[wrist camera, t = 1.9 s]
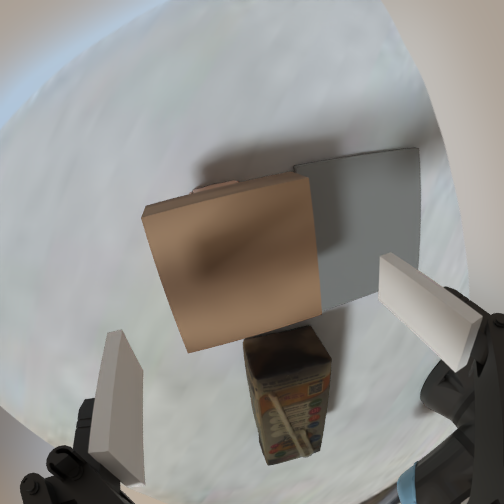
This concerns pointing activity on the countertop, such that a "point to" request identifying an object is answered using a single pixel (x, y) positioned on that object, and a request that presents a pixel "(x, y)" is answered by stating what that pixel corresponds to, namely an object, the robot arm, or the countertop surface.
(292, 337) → the beverage carton
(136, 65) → the countertop surface
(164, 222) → the lid
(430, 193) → the countertop surface
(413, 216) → the mat
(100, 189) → the countertop surface
